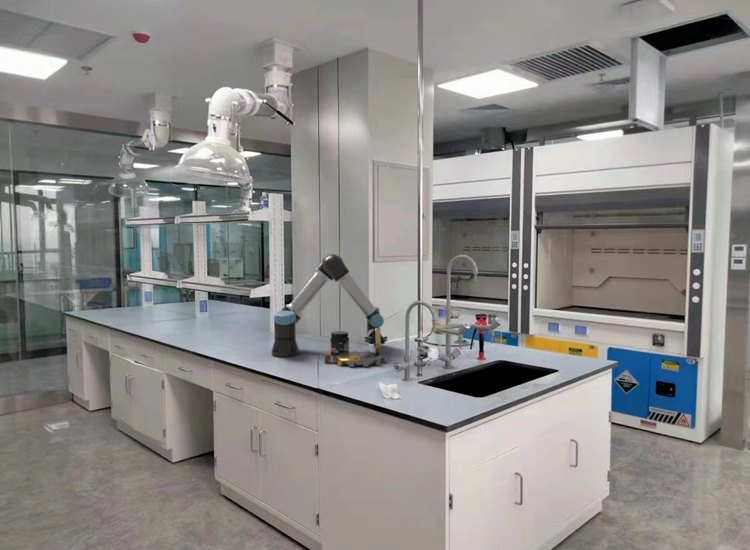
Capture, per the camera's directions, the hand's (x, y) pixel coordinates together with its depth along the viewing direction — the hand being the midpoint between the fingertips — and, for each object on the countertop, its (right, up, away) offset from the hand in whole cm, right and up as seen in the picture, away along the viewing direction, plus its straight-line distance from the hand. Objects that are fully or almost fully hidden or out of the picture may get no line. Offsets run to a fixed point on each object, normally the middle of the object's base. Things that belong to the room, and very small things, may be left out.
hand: (378, 344), depth 274 cm
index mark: (-26, -8, -7) cm, 28 cm away
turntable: (-10, -8, -5) cm, 14 cm away
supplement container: (-21, -7, +13) cm, 26 cm away
